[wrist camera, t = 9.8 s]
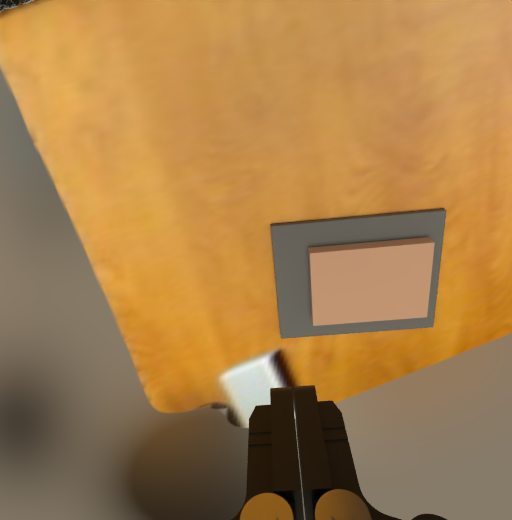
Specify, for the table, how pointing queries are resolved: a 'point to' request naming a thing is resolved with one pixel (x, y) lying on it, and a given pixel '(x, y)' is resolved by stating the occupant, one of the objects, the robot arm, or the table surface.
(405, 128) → the table surface
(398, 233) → the charcoal mat
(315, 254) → the terracotta tile
